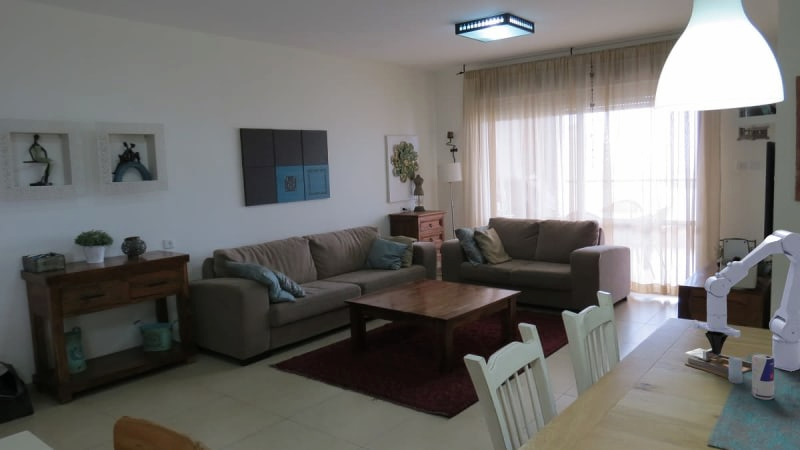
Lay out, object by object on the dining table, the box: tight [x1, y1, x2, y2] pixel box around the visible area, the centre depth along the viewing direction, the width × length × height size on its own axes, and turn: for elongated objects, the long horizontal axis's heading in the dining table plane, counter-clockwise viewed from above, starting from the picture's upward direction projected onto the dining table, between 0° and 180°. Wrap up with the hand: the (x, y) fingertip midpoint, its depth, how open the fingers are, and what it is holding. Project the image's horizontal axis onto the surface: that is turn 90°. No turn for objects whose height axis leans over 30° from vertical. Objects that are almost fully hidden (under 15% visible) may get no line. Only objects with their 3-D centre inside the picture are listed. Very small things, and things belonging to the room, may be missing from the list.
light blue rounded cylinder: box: [728, 356, 743, 384], centre depth 178 cm, size 4×4×7 cm
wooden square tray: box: [684, 353, 752, 379], centre depth 191 cm, size 14×15×2 cm
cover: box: [683, 347, 722, 361], centre depth 196 cm, size 8×8×3 cm
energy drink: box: [751, 352, 775, 401], centre depth 166 cm, size 5×5×12 cm
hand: (716, 353), depth 191 cm, fingers closed
